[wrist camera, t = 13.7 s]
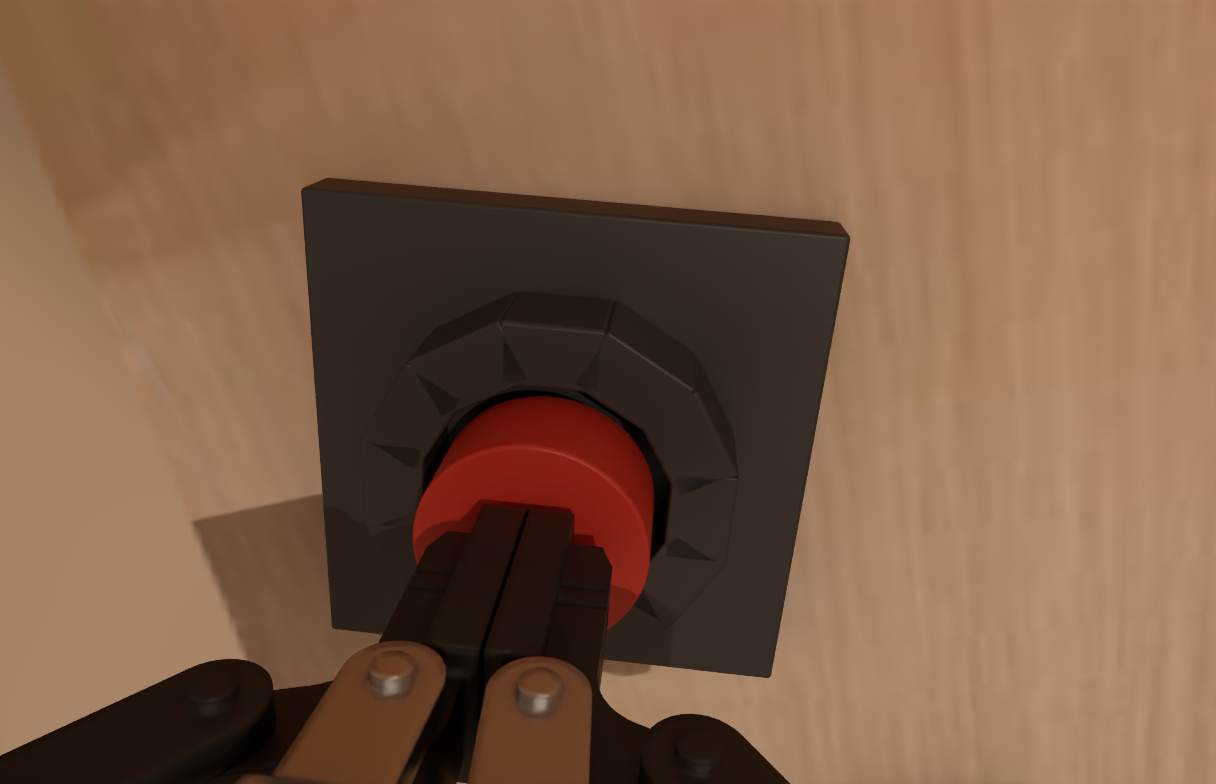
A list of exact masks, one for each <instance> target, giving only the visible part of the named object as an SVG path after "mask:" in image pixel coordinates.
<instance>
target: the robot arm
mask: <svg viewBox="0 0 1216 784" xmlns="http://www.w3.org/2000/svg"><path fill="white" fill-rule="evenodd" d="M574 529H575V514H574V513H566V512H556V511H547V510H537V509H530V511H528V509H526V508H517V507H507V506H498V505H488V504H484V505H483V506H482V508H481V510H480V513H479V515H478V517H477V520H476V522H475V524H474V527H473V529H472V531H471V533H465V532H456V531H447V532H446V533H444V534H443V535H442V536H440V537H439V538H438V539H436V540H435V541H434V542H432V543H431V544H430V545H429V546H427V547H426V549H425V551H424V553H423V555H422V557H421V559H420V561H419V563H418V565H417V567H416V571H414V573H413V575H412V577H411V579H410V581H409V583H408V588H406V589H405V591H404V593H403V595H402V597H401V599H400V601H399V603H398V605H397V607H396V609H395V611H394V613H393V615H392V617H391V619H390V621H389V623H388V625H387V627H386V629H385V631H384V633H383V635H382V637H381V639H380V641H379V643H378V644H375V645H372V646H369V647H367V648H365V649H363V650H361V651H359V652H358V653H356V654H355V655H353V656H352V657H351V658H350V659H349V660H347V662H346V663H345V664H344V665H343V667H342V668H341V670H340V671H339V673H338V674H337V676H336V677H335V679H334V680H333V681H329V682H326V683H322V684H317V685H311V686H303V687H295V688H287V689H279V690H273V683H272V679H271V677H270V675H269V674H268V672H267V671H266V670H265V669H264V668H262V667H261V666H259V665H257V664H255V663H253V662H250V661H246V660H239V659H223V660H215V661H210V662H206V663H203V664H199V665H197V666H194V667H192V668H189V669H187V670H185V671H183V672H181V673H178V674H176V675H174V676H172V677H170V678H168V679H165V680H163V681H161V682H159V683H157V684H155V685H152V686H150V687H148V688H146V689H144V690H142V691H139V692H137V693H135V694H133V695H131V696H128V697H127V698H124V699H122V700H120V701H118V702H115V703H113V704H111V705H109V706H107V707H105V708H102V709H100V710H98V711H96V712H94V713H92V714H89V715H87V716H85V717H83V718H81V719H79V720H77V721H74V722H72V723H70V724H68V725H66V726H64V727H61V728H59V729H57V730H55V731H53V732H50V733H48V734H46V735H44V736H42V737H40V738H38V739H35V740H33V741H31V742H29V743H27V744H24V745H22V746H20V747H18V748H16V749H14V750H11V751H9V752H7V753H5V754H3V755H1V756H0V784H456V783H457V782H461V783H467V784H790V783H789V782H788V781H787V780H786V779H785V778H784V777H783V776H782V775H781V774H780V773H779V772H778V771H777V770H776V769H775V768H774V767H773V766H772V765H771V764H770V763H769V762H768V761H767V760H766V759H765V758H764V757H763V756H762V755H761V754H760V753H759V752H758V751H757V750H756V749H755V748H754V747H753V746H752V745H751V744H750V743H749V742H748V741H747V740H746V739H745V738H744V737H743V736H742V735H741V734H740V733H739V732H738V731H736V730H735V729H734V728H732V727H731V726H729V725H728V724H726V723H724V722H722V721H720V720H718V719H715V718H712V717H709V716H704V715H698V714H680V715H675V716H671V717H668V718H666V719H663V720H662V721H660V722H658V723H656V724H655V725H654V726H653V727H652V728H651V729H649V728H647V727H644V726H642V725H639V724H637V723H635V722H632V721H630V720H628V719H626V718H625V717H623V716H621V715H620V714H618V713H617V712H616V711H615V710H613V709H612V708H611V707H610V706H609V705H608V703H607V702H606V701H605V699H604V698H603V696H602V695H601V692H600V684H601V676H602V669H603V662H604V654H605V647H606V637H607V626H608V614H609V602H610V590H611V579H612V565H611V563H610V561H609V559H608V557H607V555H606V553H605V551H604V549H603V548H602V547H597V546H588V545H579V544H574Z"/></svg>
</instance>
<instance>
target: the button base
mask: <svg viewBox="0 0 1216 784" xmlns="http://www.w3.org/2000/svg"><path fill="white" fill-rule="evenodd" d="M301 195H302V209H303V223H304V237H305V251H306V265H307V280H308V294H309V308H310V322H311V336H312V350H313V364H314V378H315V393H316V407H317V421H318V435H319V449H320V463H321V477H322V491H323V506H324V520H325V534H326V548H327V562H328V576H329V590H330V604H331V618H332V627H333V628H334V629H341V630H350V631H359V632H367V633H376V634H383V633H384V631H385V629H386V627H387V625H388V623H389V621H390V619H391V617H392V615H393V613H394V611H395V609H396V607H397V605H398V603H399V601H400V599H401V597H402V595H403V593H404V591H405V589H406V588H408V583H409V581H410V579H411V577H412V575H413V573H414V571H416V567H417V562H416V558H415V554H414V547H413V524H414V519H415V514H416V511H417V508H418V505H419V503H420V500H421V498H422V496H423V495H424V493H425V491H426V489H427V488H428V486H429V484H430V482H431V480H432V479H433V477H434V475H435V473H436V471H437V470H438V468H439V466H440V464H441V463H442V461H443V459H444V457H445V455H446V454H447V452H448V450H449V448H450V447H451V445H452V443H453V441H454V440H455V438H456V436H457V435H458V434H459V433H460V431H461V430H462V429H463V428H464V427H465V426H466V425H467V424H468V423H469V422H470V421H471V420H472V419H473V418H475V417H476V416H477V415H479V414H480V413H482V412H483V411H485V410H487V409H489V408H491V407H493V406H495V405H497V404H500V403H503V402H505V401H508V400H513V399H517V398H522V397H532V396H550V397H558V398H564V399H569V400H572V401H576V402H579V403H582V404H585V405H587V406H589V407H592V408H594V409H596V410H598V411H599V412H601V413H603V414H605V415H606V416H608V417H609V418H610V419H612V420H613V421H614V422H616V423H617V424H618V425H619V426H621V427H622V428H623V429H624V430H625V431H626V432H627V433H628V434H629V435H630V437H631V438H632V439H633V440H634V442H635V443H636V444H637V445H638V447H639V449H640V450H641V452H642V454H643V455H644V457H645V459H646V462H647V464H648V466H649V469H650V472H651V476H652V480H653V487H654V511H653V525H652V539H651V552H650V564H649V570H648V575H647V579H646V582H645V584H644V587H643V590H642V592H641V593H640V595H639V597H638V599H637V601H636V602H635V603H634V605H633V606H632V607H631V609H630V610H629V611H628V612H627V613H626V614H625V615H624V616H623V617H622V618H621V619H620V620H619V621H618V622H617V623H616V624H614V625H613V626H612V627H610V628H609V629H608V630H607V637H606V647H605V654H604V659H605V660H614V661H622V662H631V663H640V664H649V665H658V666H666V667H675V668H684V669H693V670H701V671H710V672H719V673H728V674H737V675H745V676H754V677H763V678H769V677H770V676H771V672H772V667H773V661H774V656H775V650H776V645H777V639H778V634H779V628H780V623H781V617H782V612H783V606H784V601H785V595H786V590H787V584H788V579H789V573H790V568H791V562H792V557H793V551H794V546H795V540H796V535H797V529H798V524H799V518H800V513H801V508H802V502H803V497H804V491H805V486H806V480H807V475H808V469H809V464H810V458H811V453H812V447H813V442H814V436H815V431H816V425H817V420H818V414H819V409H820V403H821V398H822V392H823V387H824V381H825V376H826V370H827V365H828V359H829V354H830V348H831V343H832V337H833V332H834V326H835V321H836V315H837V310H838V304H839V299H840V293H841V288H842V282H843V277H844V271H845V266H846V260H847V255H848V249H849V244H850V236H849V235H848V233H847V232H846V231H845V229H844V228H843V227H842V225H841V224H840V223H838V222H831V221H820V220H808V219H796V218H785V217H773V216H762V215H750V214H739V213H727V212H715V211H704V210H692V209H681V208H669V207H657V206H646V205H634V204H623V203H611V202H599V201H588V200H576V199H565V198H553V197H541V196H530V195H518V194H507V193H495V192H484V191H472V190H460V189H449V188H437V187H426V186H414V185H402V184H391V183H379V182H368V181H356V180H344V179H333V178H325V179H323V180H321V181H318V182H316V183H314V184H311V185H309V186H307V187H304V188H302V191H301Z"/></svg>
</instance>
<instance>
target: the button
mask: <svg viewBox="0 0 1216 784" xmlns="http://www.w3.org/2000/svg"><path fill="white" fill-rule="evenodd" d="M484 504H488V505H498V506H507V507H517V508H526V509H528V511H530V509H537V510H547V511H556V512H566V513H574V514H575V529H574V544H579V545H588V546H597V547H602V548H603V549H604V551H605V553H606V555H607V557H608V559H609V561H610V563H611V565H612V579H611V590H610V602H609V614H608V626H607V630H608V629H609V628H610V627H612V626H613V625H614V624H616V623H617V622H618V621H619V620H620V619H621V618H622V617H623V616H624V615H625V614H626V613H627V612H628V611H629V610H630V609H631V607H632V606H633V605H634V603H635V602H636V601H637V599H638V597H639V595H640V593H641V592H642V590H643V587H644V584H645V582H646V579H647V575H648V570H649V564H650V552H651V539H652V525H653V511H654V487H653V480H652V476H651V472H650V469H649V466H648V464H647V462H646V459H645V457H644V455H643V454H642V452H641V450H640V449H639V447H638V445H637V444H636V443H635V442H634V440H633V439H632V438H631V437H630V435H629V434H628V433H627V432H626V431H625V430H624V429H623V428H622V427H621V426H619V425H618V424H617V423H616V422H614V421H613V420H612V419H610V418H609V417H608V416H606V415H605V414H603V413H601V412H599V411H598V410H596V409H594V408H592V407H589V406H587V405H585V404H582V403H579V402H576V401H572V400H569V399H564V398H558V397H550V396H532V397H522V398H517V399H513V400H508V401H505V402H503V403H500V404H497V405H495V406H493V407H491V408H489V409H487V410H485V411H483V412H482V413H480V414H479V415H477V416H476V417H475V418H473V419H472V420H471V421H470V422H469V423H468V424H467V425H466V426H465V427H464V428H463V429H462V430H461V431H460V433H459V434H458V435H457V436H456V438H455V440H454V441H453V443H452V445H451V447H450V448H449V450H448V452H447V454H446V455H445V457H444V459H443V461H442V463H441V464H440V466H439V468H438V470H437V471H436V473H435V475H434V477H433V479H432V480H431V482H430V484H429V486H428V488H427V489H426V491H425V493H424V495H423V496H422V498H421V500H420V503H419V505H418V508H417V511H416V514H415V519H414V524H413V547H414V554H415V558H416V562H417V565H418V563H419V561H420V559H421V557H422V555H423V553H424V551H425V549H426V547H427V546H429V545H430V544H431V543H432V542H434V541H435V540H436V539H438V538H439V537H440V536H442V535H443V534H444V533H446V532H447V531H456V532H465V533H471V531H472V529H473V527H474V524H475V522H476V520H477V517H478V515H479V513H480V510H481V508H482V506H483V505H484Z"/></svg>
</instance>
